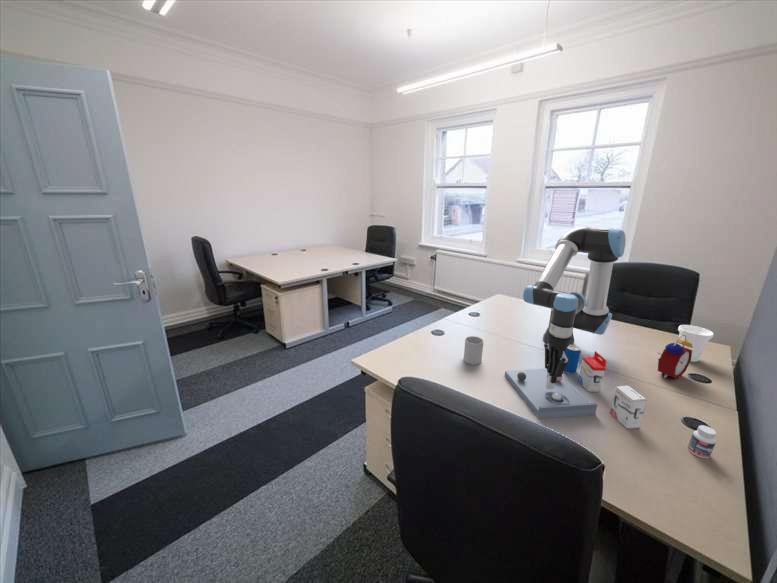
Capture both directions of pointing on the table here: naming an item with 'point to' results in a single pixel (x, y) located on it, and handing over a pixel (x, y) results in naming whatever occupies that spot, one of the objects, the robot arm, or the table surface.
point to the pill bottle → (702, 441)
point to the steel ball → (556, 397)
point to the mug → (473, 350)
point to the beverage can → (572, 359)
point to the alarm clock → (675, 358)
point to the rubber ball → (521, 376)
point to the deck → (549, 395)
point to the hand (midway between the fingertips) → (549, 388)
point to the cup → (695, 339)
